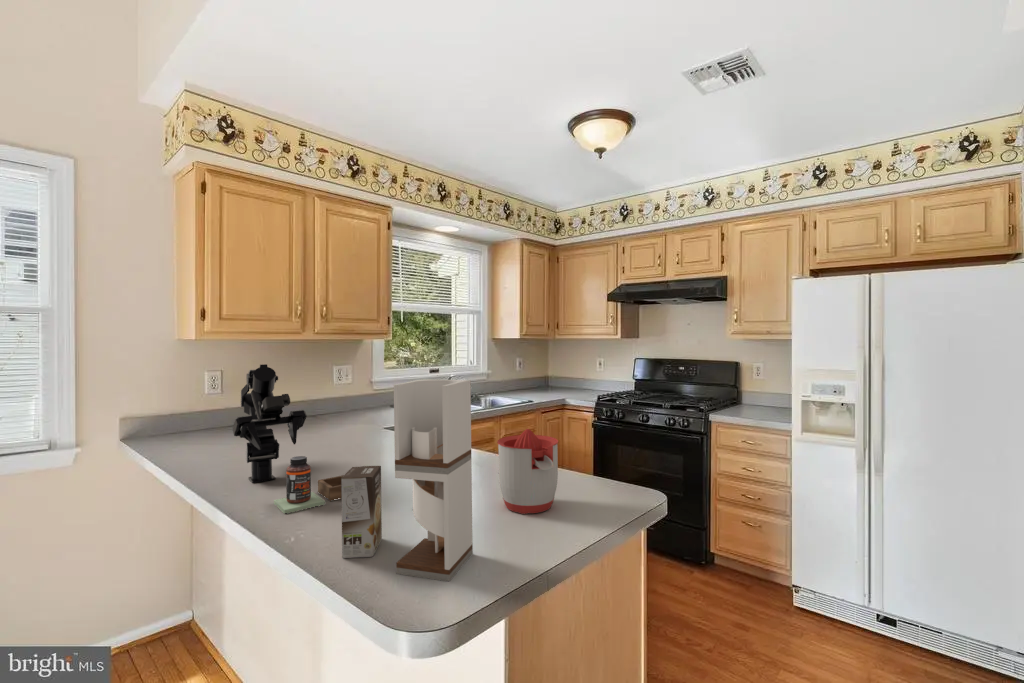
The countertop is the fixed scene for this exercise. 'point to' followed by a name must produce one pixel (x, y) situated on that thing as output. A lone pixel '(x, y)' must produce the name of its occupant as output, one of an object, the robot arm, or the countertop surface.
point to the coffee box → (361, 511)
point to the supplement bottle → (298, 480)
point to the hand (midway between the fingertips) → (278, 446)
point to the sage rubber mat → (298, 504)
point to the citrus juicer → (528, 471)
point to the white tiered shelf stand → (436, 472)
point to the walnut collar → (330, 487)
